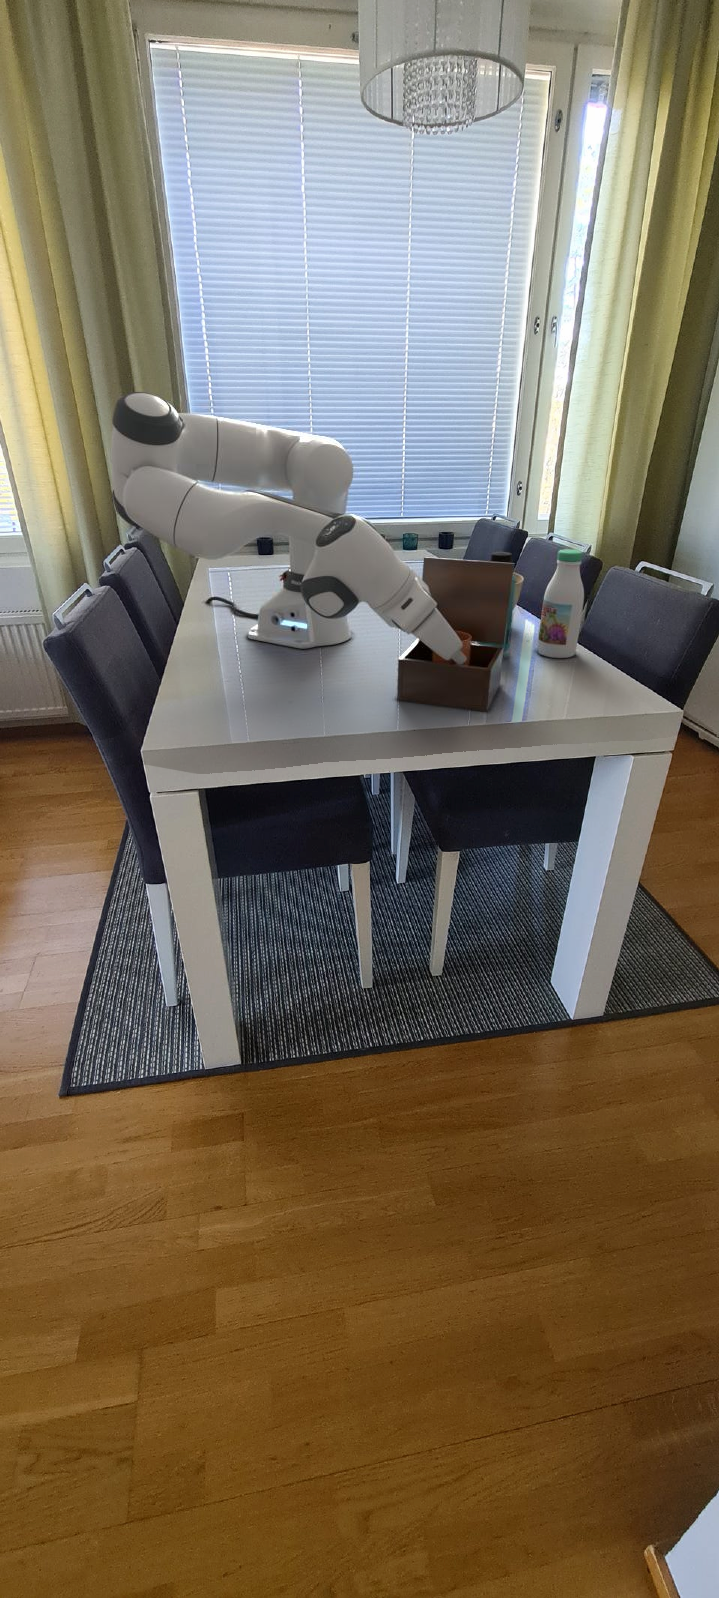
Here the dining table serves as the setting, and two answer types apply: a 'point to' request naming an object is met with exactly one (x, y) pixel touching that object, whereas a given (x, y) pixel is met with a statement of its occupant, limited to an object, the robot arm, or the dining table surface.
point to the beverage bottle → (507, 558)
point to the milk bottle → (562, 608)
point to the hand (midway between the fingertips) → (454, 653)
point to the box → (450, 677)
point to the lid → (471, 595)
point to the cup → (465, 649)
